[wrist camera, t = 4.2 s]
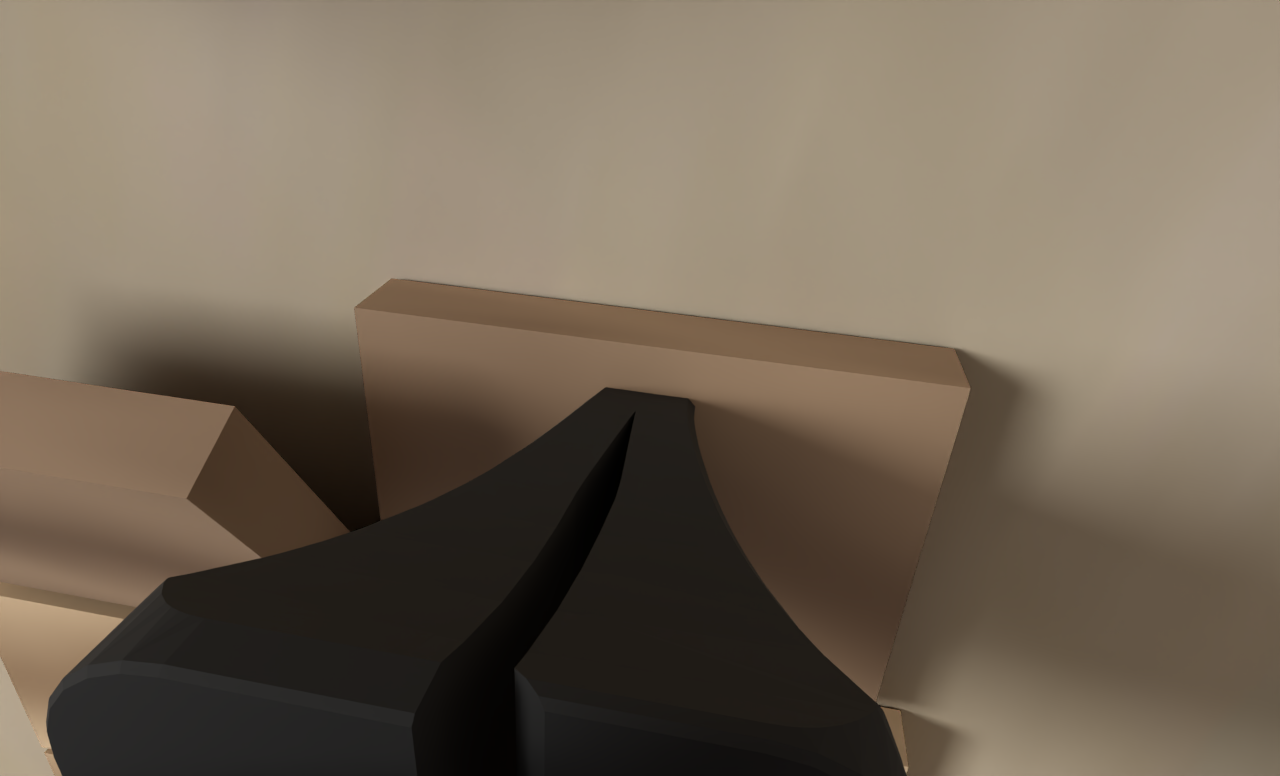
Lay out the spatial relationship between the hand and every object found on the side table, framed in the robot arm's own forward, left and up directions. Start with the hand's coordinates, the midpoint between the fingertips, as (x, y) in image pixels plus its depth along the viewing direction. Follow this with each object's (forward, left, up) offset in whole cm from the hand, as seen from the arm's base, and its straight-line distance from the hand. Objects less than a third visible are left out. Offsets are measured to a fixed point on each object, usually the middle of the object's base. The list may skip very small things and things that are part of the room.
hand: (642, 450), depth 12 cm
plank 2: (-2, 0, -1) cm, 2 cm away
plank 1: (-2, +9, +1) cm, 9 cm away
